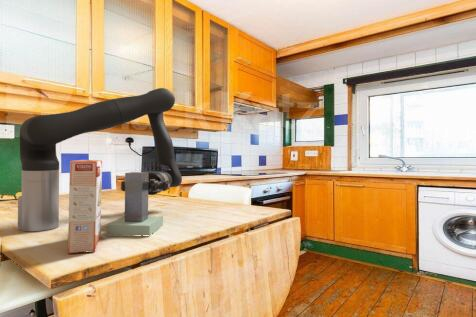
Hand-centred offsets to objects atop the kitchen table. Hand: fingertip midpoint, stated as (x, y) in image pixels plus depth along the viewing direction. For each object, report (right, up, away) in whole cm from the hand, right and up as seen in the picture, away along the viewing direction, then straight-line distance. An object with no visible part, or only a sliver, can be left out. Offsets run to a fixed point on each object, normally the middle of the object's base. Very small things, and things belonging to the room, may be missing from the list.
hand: (137, 187), depth 85 cm
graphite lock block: (0, -9, 0) cm, 10 cm away
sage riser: (0, -12, 0) cm, 13 cm away
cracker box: (-8, -13, -14) cm, 20 cm away
